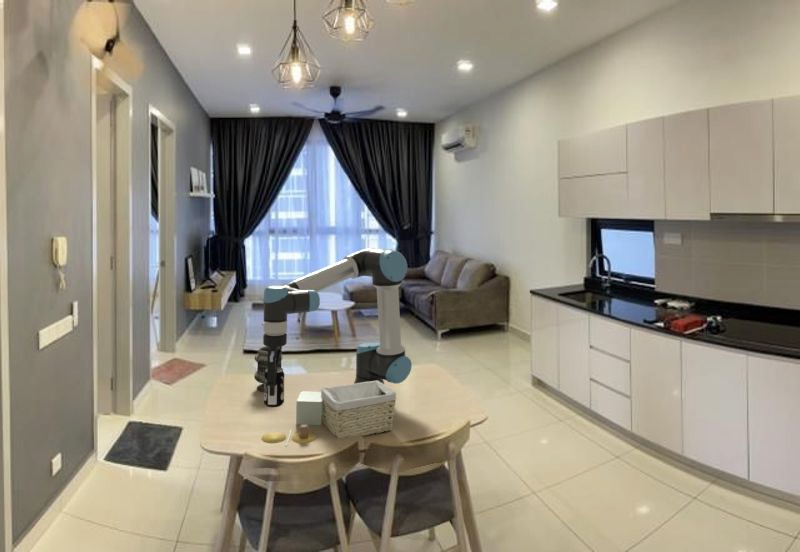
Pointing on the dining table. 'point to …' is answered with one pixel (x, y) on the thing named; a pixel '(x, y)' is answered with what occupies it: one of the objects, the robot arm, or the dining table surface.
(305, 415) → the cover
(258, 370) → the apothecary jar
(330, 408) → the storage basket
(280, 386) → the beverage can
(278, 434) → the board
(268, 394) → the robot arm
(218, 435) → the dining table surface
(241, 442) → the dining table surface
